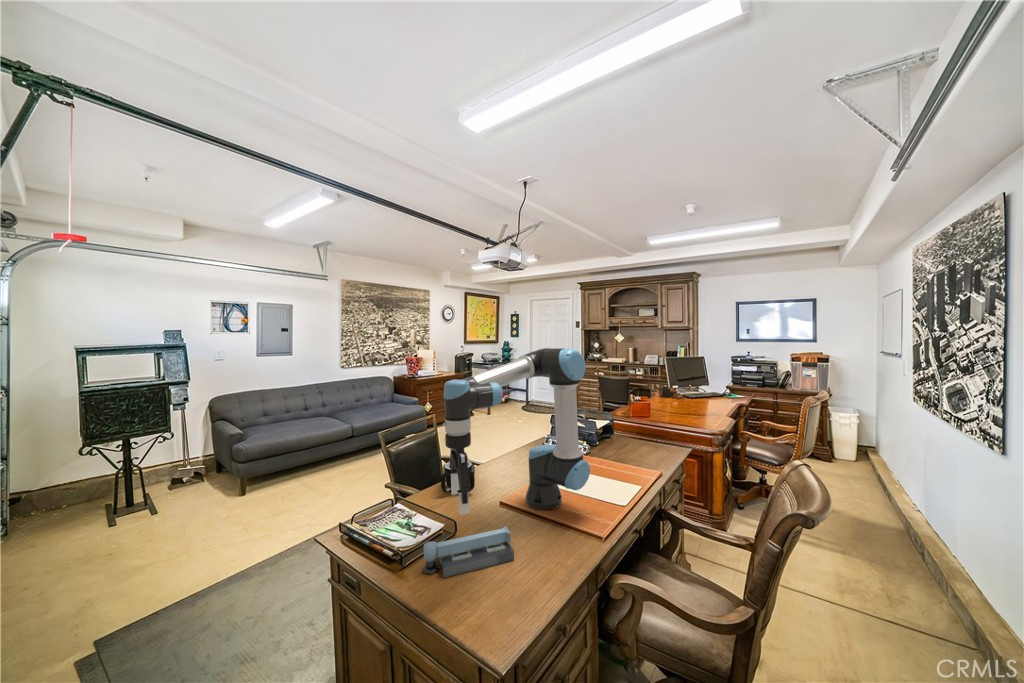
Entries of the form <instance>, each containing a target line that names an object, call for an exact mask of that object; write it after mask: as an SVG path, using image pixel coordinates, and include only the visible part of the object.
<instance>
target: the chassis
mask: <svg viewBox="0 0 1024 683" xmlns="http://www.w3.org/2000/svg"><path fill="white" fill-rule="evenodd" d="M438 560H439V566H440V568H441V572H442V576H443V578H444V579H446V578H448V577H449V578H450V577H454V576H456V575H460V574H464V573H468V572H472V571H477V570H481V569H485V568H488V567H492V566H497V565H500V564H504V563H508V562H509V563H510V562H512V561H515V551H514V548H513V547H512V545H511V544H510V542H507V541H504V542H500V543H496V544H491V545H487V546H483V547H478V548H474V549H470V550H466V551H461V552H457V553H453V554H448V555H444V556H440V557H438Z"/></svg>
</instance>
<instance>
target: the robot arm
mask: <svg viewBox="0 0 1024 683" xmlns="http://www.w3.org/2000/svg"><path fill="white" fill-rule="evenodd" d="M586 366H587V365H586V360H585V358H584V356H583V354H582V353H581V352H580V351H578V350H577V349H575V348H566V347H565V348H563V347H561V348H559V347H558V348H556V347H555V348H550V347H547V348H540V349H537V350H534V351H531V352H528V353H526V354H523V355H520V356H519V357H518V359H515V360H514V361H509V362H508V363H505V364H502V365H499V366H496V367H495V368H491V369H488V370H486V371H483V372H480V373H477V374H474V375H471V376H468V377H465V378H462V379H457V378H455V379H451V380H448V381H446V382H445V383H444V387H443V404H444V408H443V409H444V421H445V422H443V423H442V426H443V427H444V429H445V434H444V437H445V438H444V439H445V442H444V443H445V447H446V448H448V449H450V452H449V453H450V454H449V462H450V466H449V468H450V472H451V473H452V474H451V493H450V494H451V495H452V496H454V495H458V504H459V505H458V507H459V508H458V510H459V511H458V512H459V515H460V516H462V515H467V514H470V492H471V491H472V490H471V488H470V481H469V472H468V463H467V461H468V455H467V452H465V449H466V448H468V447H470V446H471V444H472V438H471V437H472V435H471V433H472V432H470V431H471V429H472V428H471V427H472V425H471V424H472V422H471V411H474V410H480V409H486V408H492V407H495V406H497V405H500V404H501V403H502V402H503V397H504V396H503V395H504V394H503V393H504V392H503V389H502V387H505V386H507V385H510V384H513V383H514V382H518V381H521V380H522V379H532V378H535V377H540V378H541V377H544V378H548V380H549V381H548V382H549V385H550V387H552V388H553V399H554V400H553V401H554V422H555V424H554V425H555V445H556V446H555V445H553V444H541V445H537V446H534V447H532V448H530V449H529V451H528V472H529V473H528V477H529V478H528V479H529V484H528V488H527V491H526V494H525V503H526V502H527V503H526V505H527V504H528V505H530V506H531V507H530V506H529V507H530V508H532V507H534V508H537V509H536V510H539V509H550V510H554V509H557V508H558V507H557V506H559V505H560V504H561V503H563V496H562V493H561V490H560V488H559V486H562V487H563V488H566V489H567V490H572V491H579V490H581V489H582V488H584V487H585V485H586V484H587V482H588V481H589V478H590V474H591V465H590V463H588V461H587V460H585V459H584V452H583V451H582V449H581V448H580V446H579V445H580V444H579V426H578V424H579V423H578V422H579V421H578V403H577V387H578V386H579V385H580V383H581V381H580V380H582V379H583V378H584V375H585V373H586V368H587V367H586ZM528 505H527V506H528ZM561 505H562V504H561ZM561 505H560V506H561ZM560 506H559V507H560ZM556 507H557V508H556ZM534 508H533V509H534ZM553 508H554V509H553Z"/></svg>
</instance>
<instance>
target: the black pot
mask: <svg viewBox="0 0 1024 683" xmlns="http://www.w3.org/2000/svg"><path fill="white" fill-rule="evenodd" d="M467 463H468V472H469V481H470V488H471V491H473V490H474V488H475V480H476V479H475V473H476V472H475V470H476V469H475V468H476V467H475V463H474V462H473V461H469V460H467ZM449 466H450V461H448V462H446V463H444V464H443V467H442V469H443V470H442V472H443V473H442V474H441V475H440V486H441V487H440V488H441V489H442V492H444V493H450V494H451V474H452V473H451V472H450V468H449ZM446 487H447V488H446Z"/></svg>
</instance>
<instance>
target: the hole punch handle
mask: <svg viewBox="0 0 1024 683" xmlns="http://www.w3.org/2000/svg"><path fill="white" fill-rule="evenodd" d="M511 539H512V538H511V531H510V530H509V527H508V526H503V527H502V528H498V529H494V530H489V531H484V532H480V533H475V534H471V535H467V536H461V537H457V538H452V539H449V540H443V541H439V542H436V541H427V542H426V543H424V544H423V560H424V561H425V562H426V561H427V562H431V561H434V560H436V561H437V559H438V558H439V557H440V556H444V555H448V554H453V553H457V552H461V551H466V550H470V549H474V548H478V547H483V546H487V545H491V544H496V543H500V542H504V541H507V542H509V543H510V542H511Z"/></svg>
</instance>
